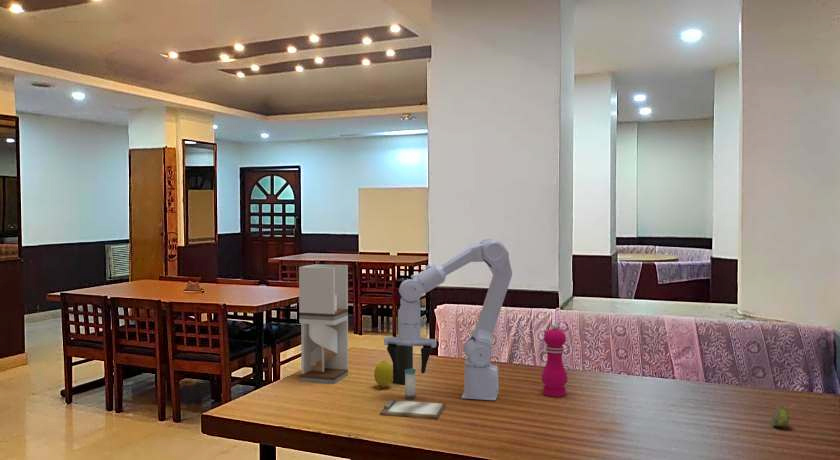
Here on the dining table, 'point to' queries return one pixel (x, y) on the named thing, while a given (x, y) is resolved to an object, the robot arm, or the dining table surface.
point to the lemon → (383, 374)
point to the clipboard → (413, 409)
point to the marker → (410, 383)
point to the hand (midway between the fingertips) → (409, 371)
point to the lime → (780, 417)
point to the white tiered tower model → (323, 322)
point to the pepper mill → (554, 363)
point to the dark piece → (403, 360)
